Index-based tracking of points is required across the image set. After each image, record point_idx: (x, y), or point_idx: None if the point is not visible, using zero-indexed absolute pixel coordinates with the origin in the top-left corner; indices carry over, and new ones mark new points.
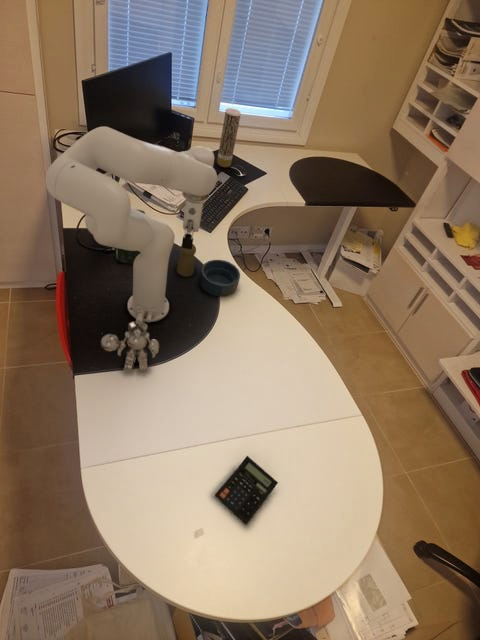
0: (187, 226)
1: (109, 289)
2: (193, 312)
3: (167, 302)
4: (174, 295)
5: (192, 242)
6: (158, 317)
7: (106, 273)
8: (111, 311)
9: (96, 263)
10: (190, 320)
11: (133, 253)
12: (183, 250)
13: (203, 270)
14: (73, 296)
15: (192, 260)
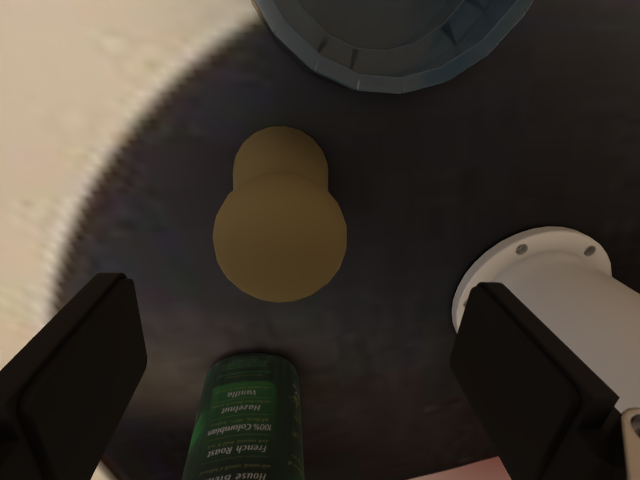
0: (120, 400)
1: (431, 406)
2: (581, 114)
3: (530, 240)
4: (464, 210)
5: (566, 349)
6: (605, 262)
7: (356, 428)
8: None
9: (313, 457)
10: (626, 126)
11: (301, 430)
12: (330, 279)
13: (393, 77)
14: (459, 463)
15: (307, 169)
